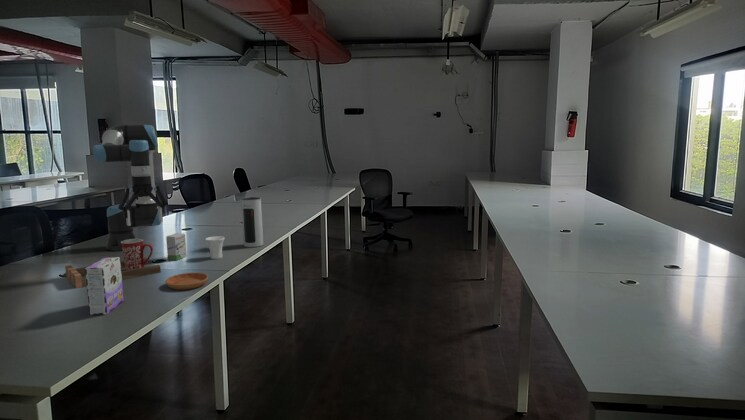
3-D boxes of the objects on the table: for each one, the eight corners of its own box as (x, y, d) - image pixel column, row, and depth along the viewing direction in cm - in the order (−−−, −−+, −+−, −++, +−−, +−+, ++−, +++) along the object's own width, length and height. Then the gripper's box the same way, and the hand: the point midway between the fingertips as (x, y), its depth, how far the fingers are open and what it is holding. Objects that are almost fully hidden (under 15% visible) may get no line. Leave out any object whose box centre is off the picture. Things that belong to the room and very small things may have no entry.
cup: (229, 257, 234) (228, 237, 233) (212, 260, 227) (211, 240, 226) (220, 254, 240) (219, 234, 239) (203, 257, 233) (201, 237, 232)
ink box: (176, 260, 228) (174, 236, 226) (167, 260, 229) (165, 236, 227) (187, 256, 236) (185, 233, 234) (178, 256, 237) (176, 232, 235)
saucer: (183, 294, 181) (182, 286, 180) (157, 287, 189) (156, 280, 189) (217, 283, 194) (216, 276, 194) (191, 277, 202) (191, 270, 202)
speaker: (239, 246, 256) (237, 198, 252) (251, 242, 266) (249, 196, 262) (255, 248, 252) (253, 199, 248) (267, 244, 262) (265, 196, 258)
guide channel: (66, 277, 202) (65, 265, 202) (145, 263, 224) (145, 252, 223) (76, 288, 188) (75, 275, 187) (160, 272, 209) (159, 261, 208)
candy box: (107, 301, 173) (103, 257, 170) (124, 300, 173) (120, 256, 171) (88, 315, 159) (83, 267, 157) (107, 314, 160) (102, 267, 157)
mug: (119, 273, 207) (117, 243, 205) (127, 268, 216) (125, 238, 214) (150, 272, 209) (148, 242, 207) (156, 266, 218) (154, 237, 215)
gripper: (112, 177, 198) (117, 228, 201) (173, 174, 215) (176, 220, 218) (107, 176, 203) (111, 226, 206) (166, 173, 220) (170, 219, 223)
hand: (145, 223), depth 212 cm, fingers open, 13 cm apart
